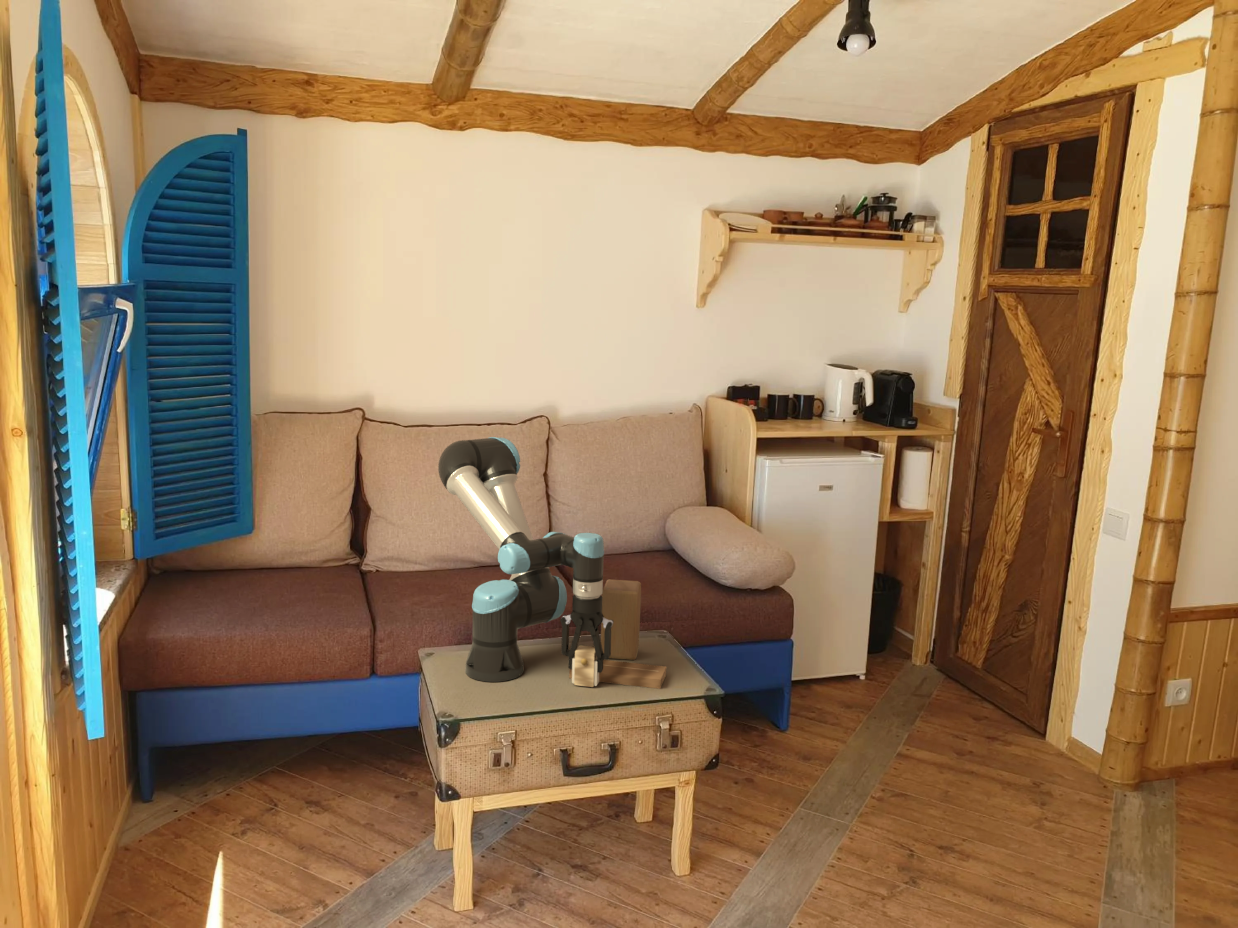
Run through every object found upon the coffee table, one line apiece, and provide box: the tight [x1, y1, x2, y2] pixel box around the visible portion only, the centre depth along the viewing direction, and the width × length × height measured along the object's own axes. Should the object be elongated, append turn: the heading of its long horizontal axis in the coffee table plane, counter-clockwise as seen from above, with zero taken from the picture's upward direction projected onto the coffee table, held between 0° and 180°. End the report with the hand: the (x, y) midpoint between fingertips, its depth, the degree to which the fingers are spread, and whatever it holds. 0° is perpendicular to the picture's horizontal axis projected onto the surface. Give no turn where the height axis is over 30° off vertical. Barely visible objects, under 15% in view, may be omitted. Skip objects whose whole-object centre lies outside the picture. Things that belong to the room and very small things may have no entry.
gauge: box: [573, 645, 597, 688], centre depth 255 cm, size 5×14×9 cm, turn 168°
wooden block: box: [600, 579, 642, 661], centre depth 272 cm, size 10×10×20 cm
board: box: [568, 659, 667, 690], centre depth 257 cm, size 24×9×2 cm, turn 78°
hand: (585, 682), depth 251 cm, fingers closed on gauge, 5 cm apart
